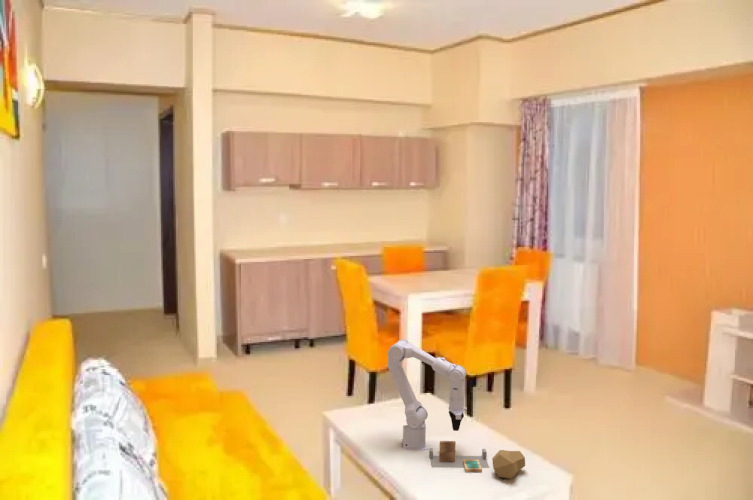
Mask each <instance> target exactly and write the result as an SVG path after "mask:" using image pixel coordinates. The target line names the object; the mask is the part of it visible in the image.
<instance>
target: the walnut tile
mask: <svg viewBox="0 0 753 500" xmlns="http://www.w3.org/2000/svg"><path fill="white" fill-rule="evenodd" d="M456 444H457V443H456V440H455V441H454V440H440V441H439V450H438V452H439V454H438V456H439V462H455V456H456V447H457V446H456Z"/></svg>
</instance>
